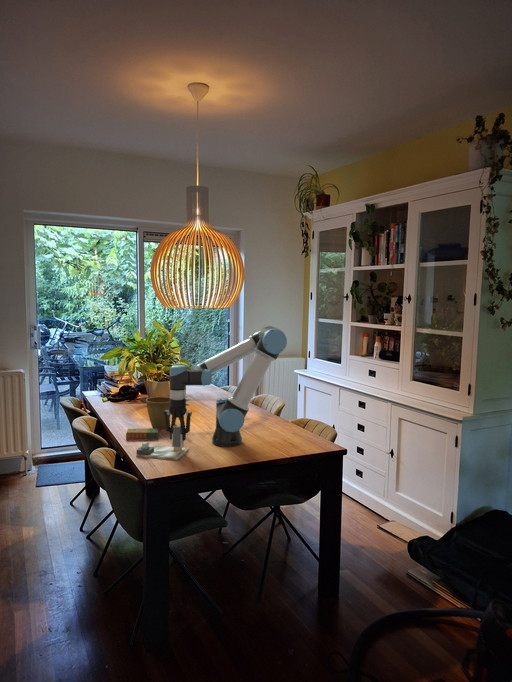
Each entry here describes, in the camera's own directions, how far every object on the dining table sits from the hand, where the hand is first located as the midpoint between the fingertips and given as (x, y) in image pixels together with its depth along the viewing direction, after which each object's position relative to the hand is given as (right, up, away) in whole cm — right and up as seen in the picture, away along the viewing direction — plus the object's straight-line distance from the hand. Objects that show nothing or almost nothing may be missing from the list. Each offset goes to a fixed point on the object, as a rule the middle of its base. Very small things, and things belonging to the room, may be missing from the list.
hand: (177, 446), depth 237 cm
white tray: (-7, -3, -1) cm, 8 cm away
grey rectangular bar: (0, -2, 0) cm, 2 cm away
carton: (-22, -1, +23) cm, 31 cm away
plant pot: (-17, +2, +41) cm, 44 cm away
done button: (-15, -1, -4) cm, 15 cm away
